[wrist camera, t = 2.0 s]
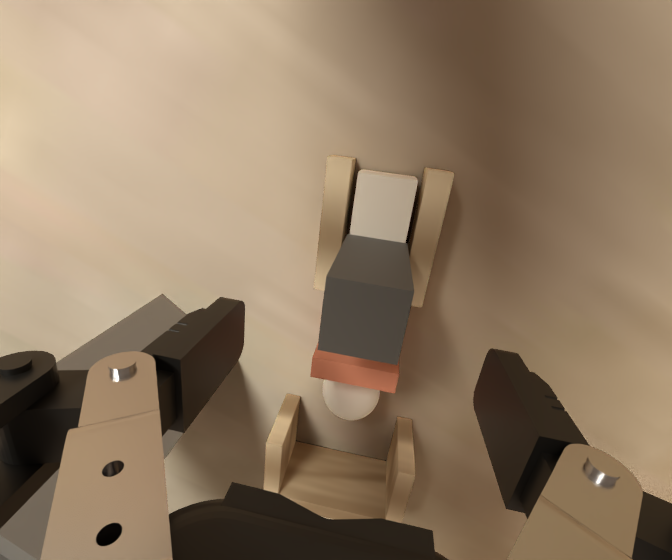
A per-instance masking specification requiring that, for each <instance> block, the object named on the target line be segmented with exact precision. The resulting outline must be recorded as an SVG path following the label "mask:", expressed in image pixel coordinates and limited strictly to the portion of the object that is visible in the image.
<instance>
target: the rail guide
mask: <svg viewBox="0 0 672 560" xmlns="http://www.w3.org/2000/svg"><path fill="white" fill-rule="evenodd" d="M355 164H356V158H352V157H345V156H337V155H332V156H327V165H326V175H325V185H324V194H323V204H322V213H321V223H320V232H319V242H318V252H317V261H316V271H315V280H314V289H318V290H324V291H325V282H326V276H327V274H328V272H329V270H330V268H331V266H332V264H333V262H334V260H335V258H336V256H337V254H338V252H339V250H340V248H341V246H342V244H343V242H344V240H345V238H346V231H347V223H348V216H349V208H350V201H351V194H352V186H353V179H354V171H355ZM453 178H454V173H452V172H450V171H448V170H440V169H433V168H426V167H425V169H424V173H423V178H422V183H421V188H420V192H419V197H418V202H417V207H416V211H415V216H414V221H413V226H412V230H411V235H410V240H409V245H408V251H409V258H410V265H411V272H412V279H413V285H414V295H413V300H412V304H411V306H415V307H420V308H422V305H423V301H424V297H425V293H426V289H427V285H428V281H429V277H430V272H431V268H432V264H433V260H434V256H435V252H436V248H437V244H438V240H439V236H440V232H441V228H442V223H443V219H444V215H445V211H446V207H447V203H448V199H449V195H450V191H451V187H452V183H453Z"/></svg>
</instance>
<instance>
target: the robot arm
mask: <svg viewBox="0 0 672 560" xmlns="http://www.w3.org/2000/svg"><path fill="white" fill-rule="evenodd" d="M244 323H245V305H244V302H243V301H239V300H234V299H228V298H223V297H220V298H219V299H217V300H216V301H215V302H214V303H213V304H211V305H210V306H209V307H208V308H207V309H203V308H202V309H199V310H197V311H194V312H191V313H189V314H187V315H186V316H185V317H183V318H182V319H181V320H179V321H178V322H177V324H174V325H173V326H172V327H171V328H169V331H166V332H164V333H163V334H162V335H160V336H159V337H158V338H157V339H155V340H154V341H153V342H152V343H150V344H149V345H148V346H147V347H145V348H144V349H143V350H142V351H140V352H137V351H129V352H121V353H117V354H113V355H110V356H107V357H105V358H103V359H101V360H99V361H98V362H96V363H95V364H94V365H93V366H92V367H91V368H90V369H89V370H57V365H56V360H55V357H54V356H53V355H52V354H50V353H48V352H44V351H25V352H18V353H14V354H10V355H6V356H3V357H0V529H1V528H2V527H3V526H4V525H5V524H6V522H7V521H8V520H9V519H10V518H11V517H12V516H13V515H14V514H15V513H16V512H17V511H18V510H19V509H20V508H21V507H22V506H23V505H24V504H25V503H26V502H27V501H28V500H29V499H30V498H31V497H32V496H33V495H34V494H35V493H36V492H37V491H38V490H39V489H40V488H41V487H42V486H43V484H44V483H45V482H46V481H47V480H48V479H49V478H50V477H51V476H52V475H53V474H54V473H55V472H56V471H57V470H58V469H59V468H60V469H59V473H58V478H57V483H56V488H55V492H54V497H53V502H52V507H51V511H50V516H49V521H48V525H47V530H46V535H45V540H44V544H43V549H42V554H41V559H40V560H448V559H447V558H445V557H444V556H442V555H441V554H439V553H437V552H435V550H434V540H433V531H432V530H427V529H423V528H419V527H415V526H411V525H407V524H403V523H398V522H394V521H390V520H386V519H382V518H373V519H334V520H332V519H326V518H323V517H321V516H319V515H318V514H316V513H314V512H312V511H310V510H308V509H307V508H305V507H303V506H301V505H299V504H297V503H296V502H294V501H292V500H290V499H288V498H286V497H285V496H283V495H281V494H279V493H275V492H271V491H266V490H262V489H258V488H254V487H250V486H246V485H242V484H238V483H233V482H232V484H231V486H230V488H229V490H228V492H227V494H226V496H225V498H224V499H216V500H209V501H203V502H199V503H196V504H192V505H189V506H187V507H184V508H181V509H179V510H177V511H175V512H173V513H170V514H169V513H168V501H167V490H166V478H165V467H164V455H163V444H162V437H163V435H164V434H165V433H166V432H167V430H168V429H169V430H173V431H178V432H182V433H184V432H185V431H186V430H187V428H188V427H189V426H190V424H191V423H192V422H193V420H194V419H195V418H196V416H197V415H198V414H199V412H200V411H201V409H202V408H203V407H204V405H205V404H206V403H207V401H208V400H209V399H210V397H211V396H212V395H213V393H214V392H215V391H216V389H217V388H218V387H219V385H220V384H221V383H222V381H223V380H224V378H225V377H226V376H227V374H228V373H229V372H230V370H231V369H232V368H233V366H234V365H235V364H236V362H237V361H238V359H239V358H240V355H241V353H242V350H243V345H244ZM473 403H474V410H475V413H476V416H477V419H478V422H479V426H480V429H481V432H482V435H483V438H484V441H485V444H486V447H487V451H488V454H489V457H490V460H491V463H492V466H493V469H494V473H495V476H496V479H497V482H498V485H499V488H500V491H501V495H502V498H503V501H504V504H505V507H506V509H509V510H514V511H518V512H522V513H525V514H526V517H527V519H528V520H527V521H526V523H525V525H524V527H523V529H522V531H521V533H520V535H519V537H518V539H517V541H516V543H515V545H514V547H513V549H512V551H511V553H510V554H509V556H508V558H507V560H672V504H671V503H669V502H667V501H664V500H662V499H660V498H657V497H655V496H653V495H650V494H648V493H646V492H644V491H642V487H641V485H640V483H639V482H638V480H637V479H636V477H635V476H634V475H633V474H632V473H631V472H630V471H629V470H628V469H627V468H626V467H625V466H624V465H623V464H622V463H620V462H619V461H618V460H616V459H615V458H613V457H612V456H610V455H608V454H607V453H605V452H603V451H601V450H599V449H596V448H594V447H591V446H589V444H588V443H587V441H586V440H585V438H584V437H583V435H582V434H581V432H580V431H579V429H578V428H577V426H576V425H575V423H574V422H573V420H572V419H571V417H570V416H569V414H568V413H567V411H564V409H565V408H564V407H563V405H562V404H561V403H560V401H559V400H557V397H556V395H555V394H554V392H553V391H552V389H551V388H550V386H549V385H548V384H547V383H546V382H545V381H543V380H542V379H541V378H540V377H539V376H538V375H536V374H535V373H534V372H529V370H528V368H527V367H526V365H525V364H524V362H523V360H522V359H521V357H520V356H519V354H517V353H514V352H508V351H503V350H498V349H490V350H489V351H488V353H487V355H486V358H485V361H484V364H483V367H482V370H481V373H480V375H479V378H478V381H477V384H476V387H475V391H474V398H473Z"/></svg>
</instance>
